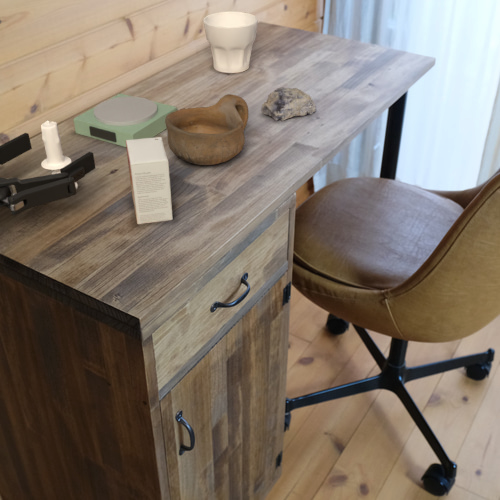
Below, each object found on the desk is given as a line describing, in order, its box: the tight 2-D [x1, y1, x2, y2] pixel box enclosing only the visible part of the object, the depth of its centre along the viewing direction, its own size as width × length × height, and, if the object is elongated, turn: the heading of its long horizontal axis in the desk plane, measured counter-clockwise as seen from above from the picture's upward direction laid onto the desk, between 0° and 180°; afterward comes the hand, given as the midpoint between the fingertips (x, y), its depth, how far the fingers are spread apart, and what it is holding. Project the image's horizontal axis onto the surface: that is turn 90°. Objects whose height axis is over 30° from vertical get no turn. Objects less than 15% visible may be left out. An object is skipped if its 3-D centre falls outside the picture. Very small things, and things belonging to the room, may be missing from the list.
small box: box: [125, 136, 174, 225], centre depth 98 cm, size 8×6×10 cm
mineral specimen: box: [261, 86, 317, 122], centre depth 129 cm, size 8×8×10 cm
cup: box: [202, 10, 259, 74], centre depth 149 cm, size 12×12×11 cm
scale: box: [72, 93, 178, 148], centre depth 124 cm, size 14×14×4 cm
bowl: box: [165, 93, 249, 166], centre depth 115 cm, size 18×14×10 cm
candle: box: [40, 119, 79, 190], centre depth 103 cm, size 5×5×12 cm
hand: (59, 150), depth 104 cm, fingers open, 13 cm apart
